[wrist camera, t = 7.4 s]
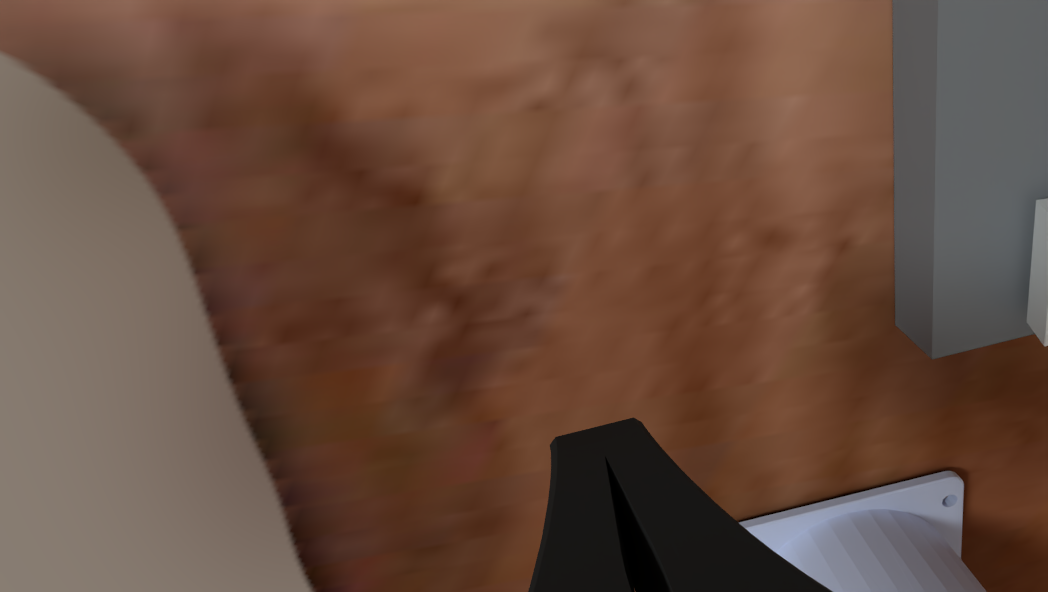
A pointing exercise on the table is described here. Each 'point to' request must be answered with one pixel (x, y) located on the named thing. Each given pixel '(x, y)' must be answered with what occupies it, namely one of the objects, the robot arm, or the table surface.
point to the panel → (967, 167)
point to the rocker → (1039, 274)
